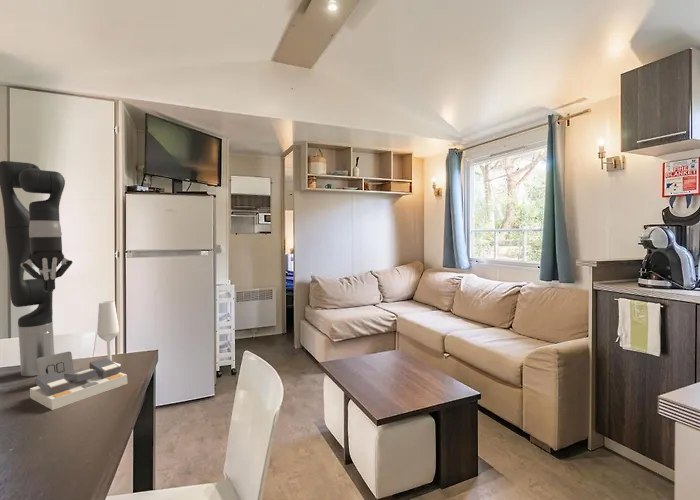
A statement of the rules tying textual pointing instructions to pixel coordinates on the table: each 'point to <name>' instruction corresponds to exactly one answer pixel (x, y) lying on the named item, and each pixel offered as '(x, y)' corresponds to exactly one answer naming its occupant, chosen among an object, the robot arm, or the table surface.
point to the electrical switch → (55, 364)
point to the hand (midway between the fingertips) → (48, 291)
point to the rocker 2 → (105, 367)
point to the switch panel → (78, 390)
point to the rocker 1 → (52, 383)
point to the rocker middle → (80, 374)
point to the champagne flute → (108, 324)
